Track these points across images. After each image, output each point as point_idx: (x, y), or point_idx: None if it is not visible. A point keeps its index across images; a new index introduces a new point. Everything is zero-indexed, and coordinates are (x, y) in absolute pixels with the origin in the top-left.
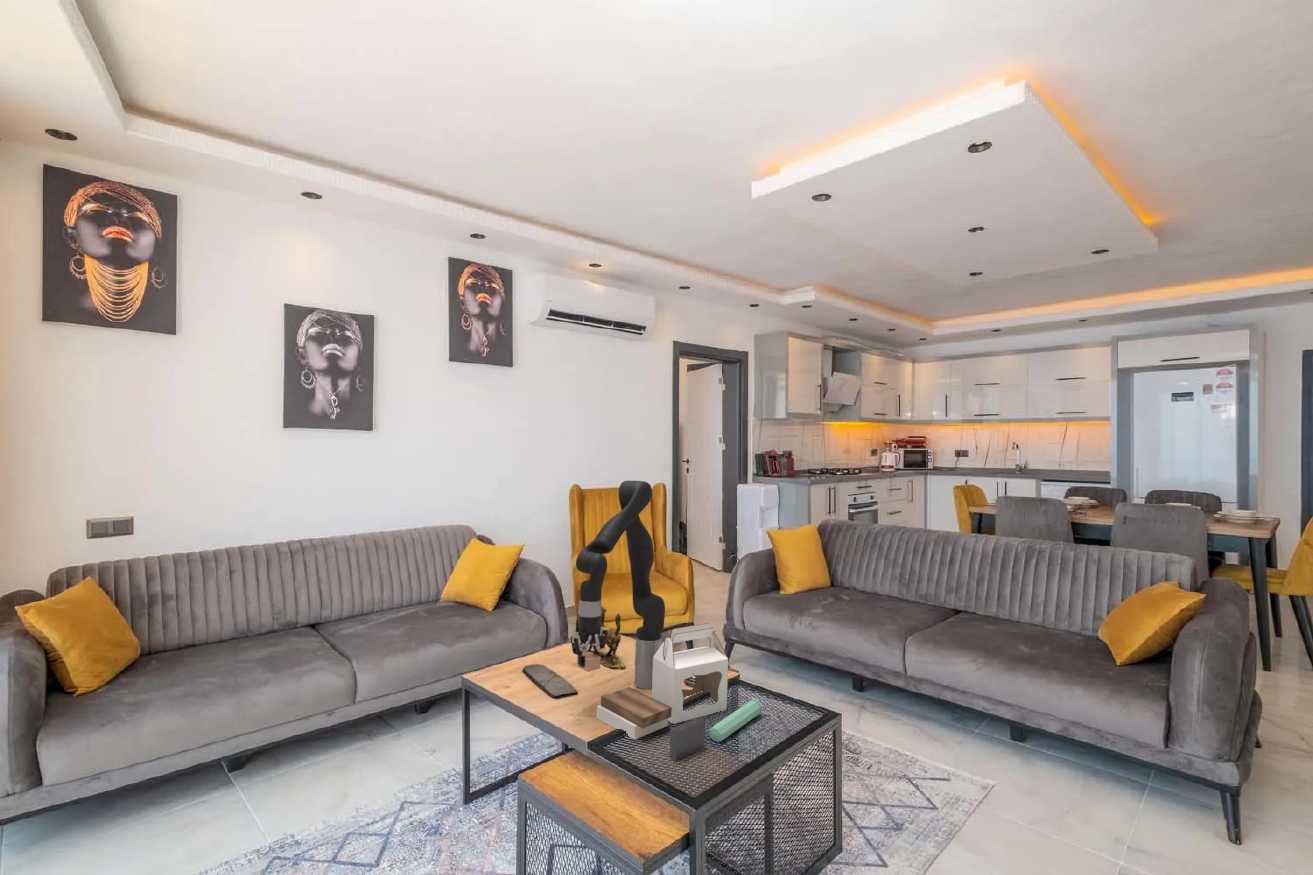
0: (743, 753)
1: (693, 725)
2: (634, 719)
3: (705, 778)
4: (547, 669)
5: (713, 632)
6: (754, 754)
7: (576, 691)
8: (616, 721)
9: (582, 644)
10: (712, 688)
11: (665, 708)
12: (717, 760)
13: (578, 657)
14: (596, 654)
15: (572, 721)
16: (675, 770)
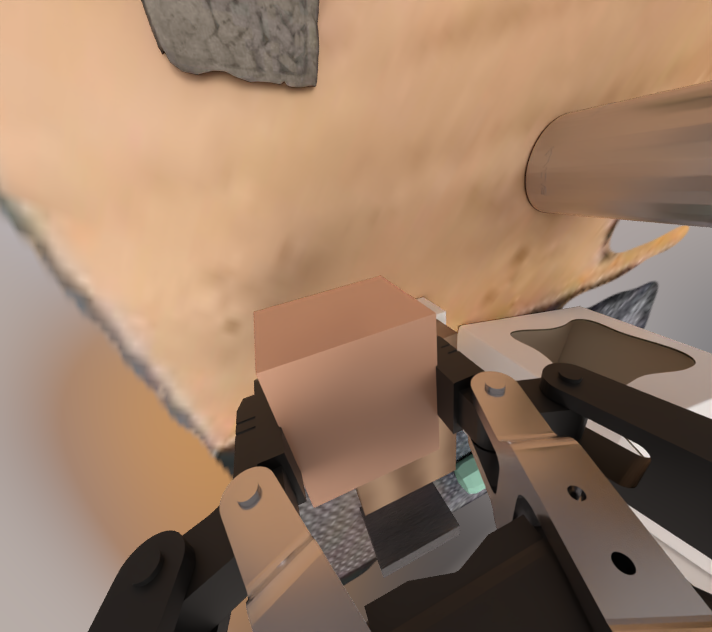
0: (457, 497)
1: (428, 551)
2: None
3: (370, 549)
4: None
5: None
6: (466, 500)
7: (308, 84)
8: None
9: (335, 601)
10: (597, 351)
11: (440, 473)
12: None
13: (235, 465)
14: (439, 412)
15: (206, 333)
16: (344, 537)
